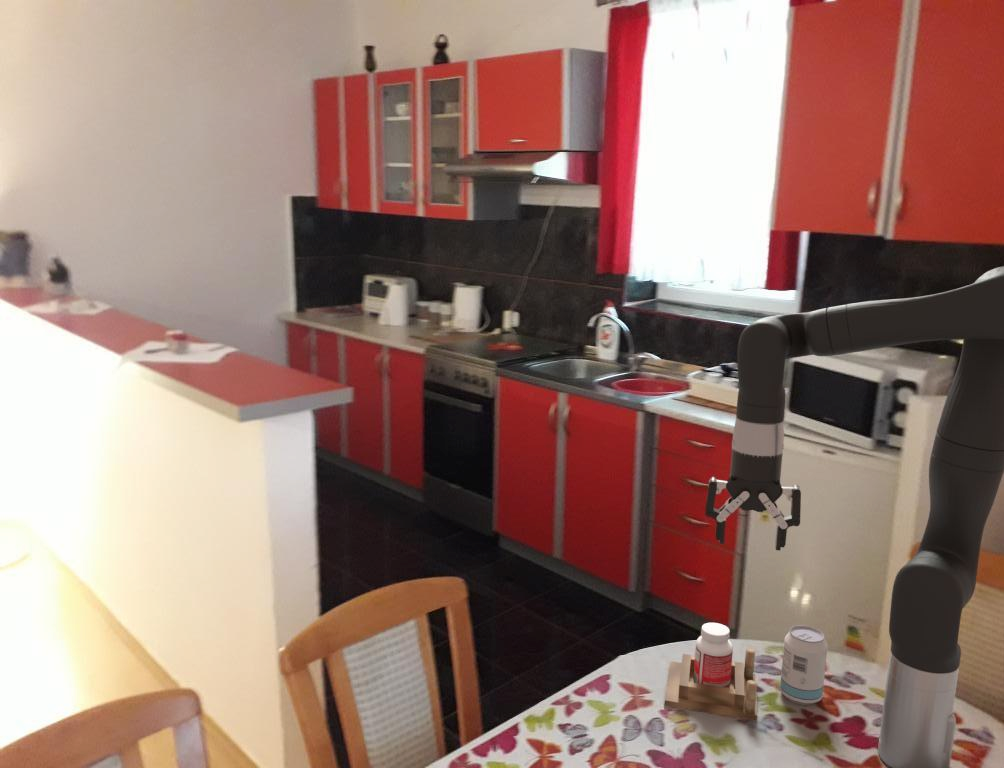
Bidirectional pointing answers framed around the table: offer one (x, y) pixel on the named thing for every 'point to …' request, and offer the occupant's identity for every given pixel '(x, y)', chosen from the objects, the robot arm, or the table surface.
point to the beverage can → (803, 665)
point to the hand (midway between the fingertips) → (749, 545)
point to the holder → (714, 689)
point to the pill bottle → (713, 656)
